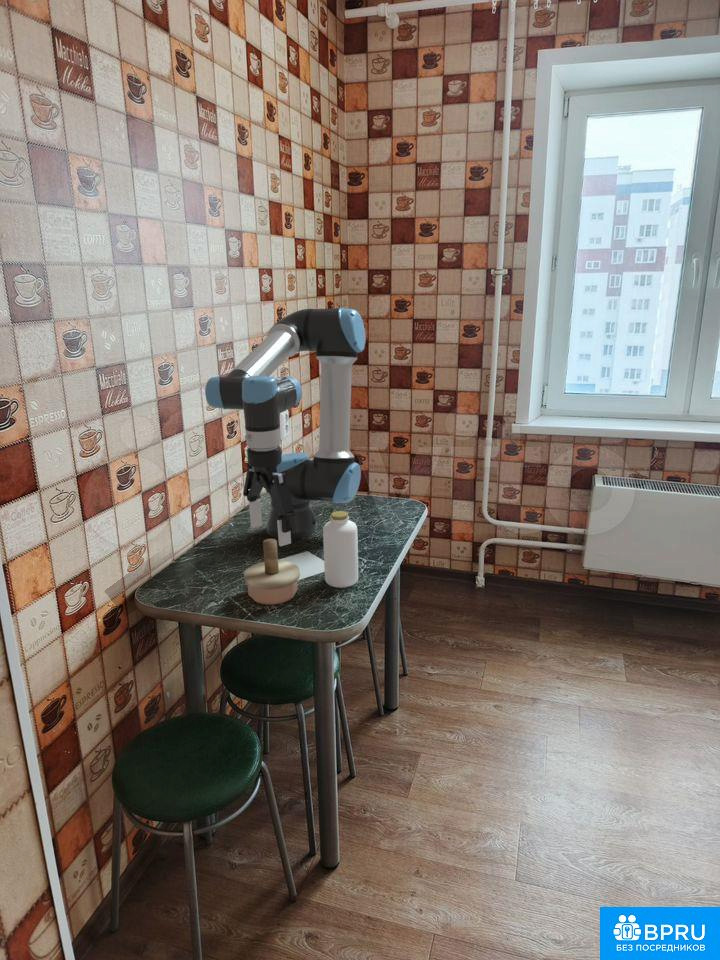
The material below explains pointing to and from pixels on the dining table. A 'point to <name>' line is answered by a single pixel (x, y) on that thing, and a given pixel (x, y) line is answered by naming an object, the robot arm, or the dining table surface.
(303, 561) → the mat
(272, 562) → the lid
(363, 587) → the dining table surface
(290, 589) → the bowl
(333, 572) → the white bottle
